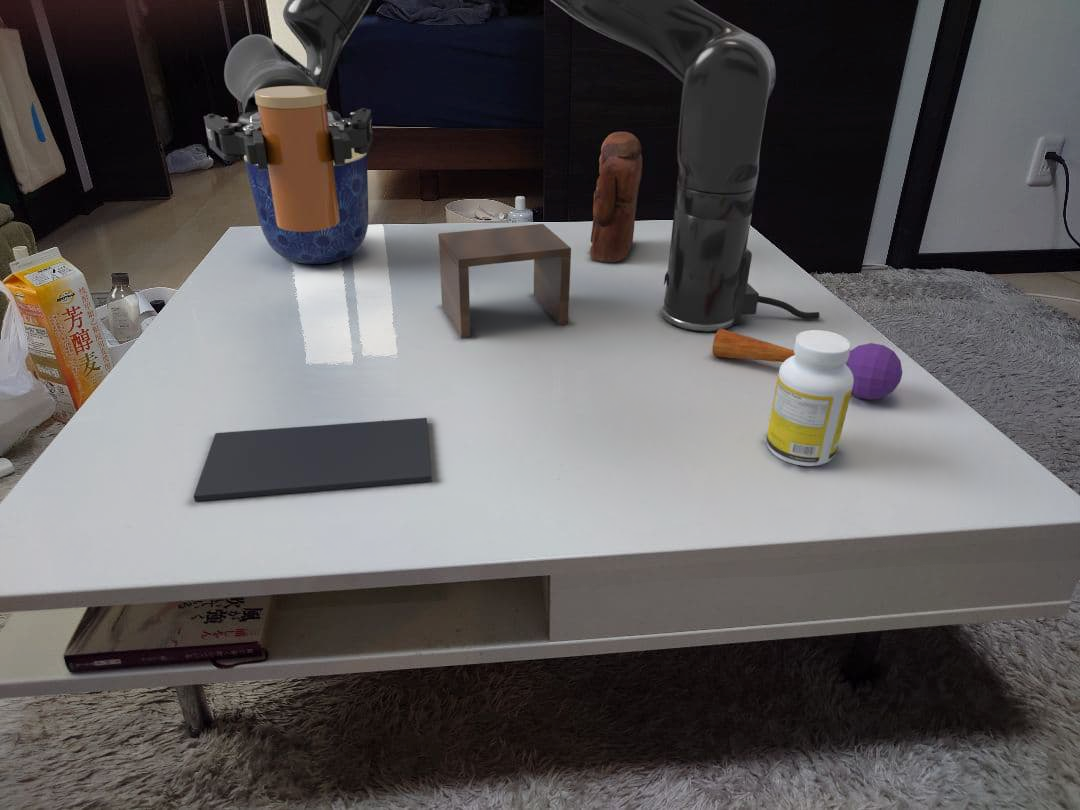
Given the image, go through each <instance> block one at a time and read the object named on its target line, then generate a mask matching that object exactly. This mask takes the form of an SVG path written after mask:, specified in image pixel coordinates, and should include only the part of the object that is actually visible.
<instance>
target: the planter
mask: <svg viewBox="0 0 1080 810" xmlns="http://www.w3.org/2000/svg"><path fill="white" fill-rule="evenodd" d="M351 150H352V158H351V159H345V165H340V166H336V165H335V163H334V161H333V165H334V174H335V183H336V192H337V200H338V209H339V218H340V221H339V223H338V224H337V225H335V226H333V227H331V228H327V229H324V230H318V231H310V232H296V231H288V230H284V229H281V228H279V227H278V226H277V225H276V219H275V213H274V207H273V200H272V194H271V188H270V181H269V175H268V170H259V169H258V164H255V165H250V164H248V162H247V156H246V155H243V160H244V165H245V168H246V172H247V177H248V180H249V185H250V189H251V193H252V197H253V200H254V205H255V209H256V213H257V217H258V221H259V226H260V228H261V231H262V233H263V236H264V238H265V240H266V241H267V243H268V245H269V246H270V247H271V249H272V250H274V252H276V253H277V254H278V255H279V256H281V257H282V258H284V259H286V260H288V261H290V262H294V263H298V264H304V265H324V264H331V263H334V262H335V263H336V262H338V261H342V260H345V259H347V258H349V257H351V256H353V254H355V253H357V251H358V250H359V249H360V248H361V246H362V245H363V243H364V241H365V239H366V237H367V232H368V228H369V217H370V216H369V183H368V182H369V181H368V180H369V179H368V176H369V175H368V153H365V154H359V153H355V152H354V148H352V149H351Z"/></svg>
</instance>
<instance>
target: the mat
mask: <svg viewBox="0 0 1080 810" xmlns="http://www.w3.org/2000/svg"><path fill="white" fill-rule="evenodd" d="M428 429H429V428H428V418H427V417H419V418H418V417H417V418H403V419H391V420H389V419H388V420H377V421H375V420H374V421H365V422H362V421H361V422H350V423H349V422H348V423H334V424H323V425H307V426H295V427H292V426H291V427H280V428H279V427H278V428H268V429H254V430H253V429H252V430H240V431H239V430H238V431H224V432H215V434H214V437H213V439H212V442H211V445H210V448H209V451H208V452H207V453H208V454H207V456H206V458H205V462H204V465H203V468H202V471H201V474H200V476H199V479H198V482H197V485H196V488H195V490H194V494H193V500H194V502H202V501H203V502H204V501H214V500H215V501H217V500H226V499H237V498H238V499H239V498H250V497H259V496H260V497H263V496H272V495H287V494H297V493H298V494H299V493H308V492H319V491H331V490H344V489H354V488H355V489H356V488H366V487H369V488H370V487H379V486H391V485H403V484H413V483H425V482H432V481H433V477H432V466H431V454H430V453H431V452H430V444H429V442H430V441H429V430H428Z"/></svg>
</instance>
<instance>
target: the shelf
mask: <svg viewBox="0 0 1080 810" xmlns="http://www.w3.org/2000/svg"><path fill="white" fill-rule="evenodd" d="M438 250H439V252H438V254H439V272H440V292H441V293H440V295H441V307H442V309H443V311H444V312H445V314H446V315H447V317H448V319H449V320H450V322H451V323H452V326H453V327H454V329H455V330H456V332H457V333H458V335H459V337H460V338H461V339H465V338H471V307H470V306H471V305H470V304H471V303H470V275H469V274H470V273H469V268H470V267H479V266H487V265H497V264H505V263H516V262H525V261H533V297H534V298H535V299H536V301H538V302H539V304H540V305H541V306H542V307H543V308H544V309H545V310H546V312H547V313H548V314H549V315H550V316H551V317H552V318H553V319H554V320H555V321H556V323H557V324H558V325H560V326H561V325H569V312H570V288H571V262H572V261H571V260H572V247H571V246H570V245H568V244H567V243H566V242H565V241H564V240H562V238H560V237H559V236H558V235H556V234H555V233H554V232H553V231H552V230H551V229H549V228H548V227H547V225H545V224H544V223H537V224H525V225H516V226H514V225H513V226H504V227H493V228H483V229H474V230H473V229H469V230H462V231H461V230H460V231H450V232H440V233H438Z"/></svg>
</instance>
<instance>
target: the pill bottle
mask: <svg viewBox="0 0 1080 810" xmlns="http://www.w3.org/2000/svg"><path fill="white" fill-rule="evenodd" d="M793 350H794V353H795V355H794V356H791V357H790V358H788V359H786V360H785V361H784V362H781V365H780V367H779V369H778V370H779V371H778V375H777V380H776V385H775V391H774V395H773V401H772V406H771V411H770V417H769V421H768V428H767V431H766V439H765V440H766V445H767V447H768V449H769V451H770V452H771V453H772V454H773V455H774V456H775V457H777V458H778V459H780V460H782V461H784V462H786V463H789V464H793V465H797V466H803V467H816V466H821V465H824V464H827V463H828V462H830V461H831V460H833V459H834V457H835V456H836V454H837V451H838V448H839V443H840V439H841V435H842V431H843V428H844V423H845V420H846V416H847V412H848V409H849V403H850V399H851V396H852V393H851V392H852V388H853V383H854V378H853V374H852V372H851V370H850V369H849V367H848V366H847V365H846V364H845V363H846V362H847V361H848V358H849V354H850V351H851V350H852V345H851V342H850V340H849V339H848V338H846V337H844V336H843V335H841V334H838V333H836V332H833V331H828V330H821V329H809V330H804V331H801V332H799V333H798V334H797V335H796V337H795V341H794V346H793Z"/></svg>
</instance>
